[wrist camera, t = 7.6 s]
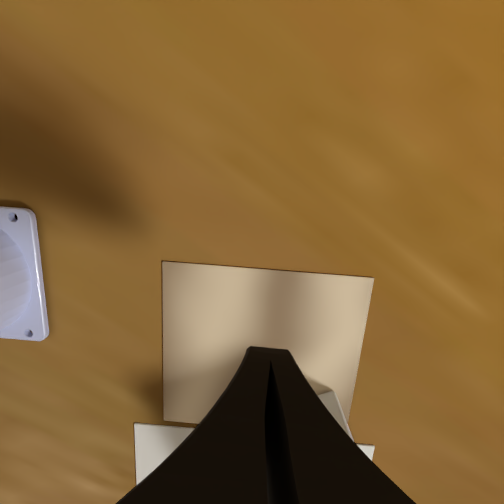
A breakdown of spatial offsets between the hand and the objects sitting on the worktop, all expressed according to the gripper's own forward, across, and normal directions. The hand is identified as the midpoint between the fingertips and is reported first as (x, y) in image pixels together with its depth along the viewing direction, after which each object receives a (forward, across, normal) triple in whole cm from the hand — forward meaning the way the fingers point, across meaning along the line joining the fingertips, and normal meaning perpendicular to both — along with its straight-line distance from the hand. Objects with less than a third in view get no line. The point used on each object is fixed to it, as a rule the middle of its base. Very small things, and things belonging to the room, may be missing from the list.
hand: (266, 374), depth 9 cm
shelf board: (+7, 0, +4) cm, 9 cm away
